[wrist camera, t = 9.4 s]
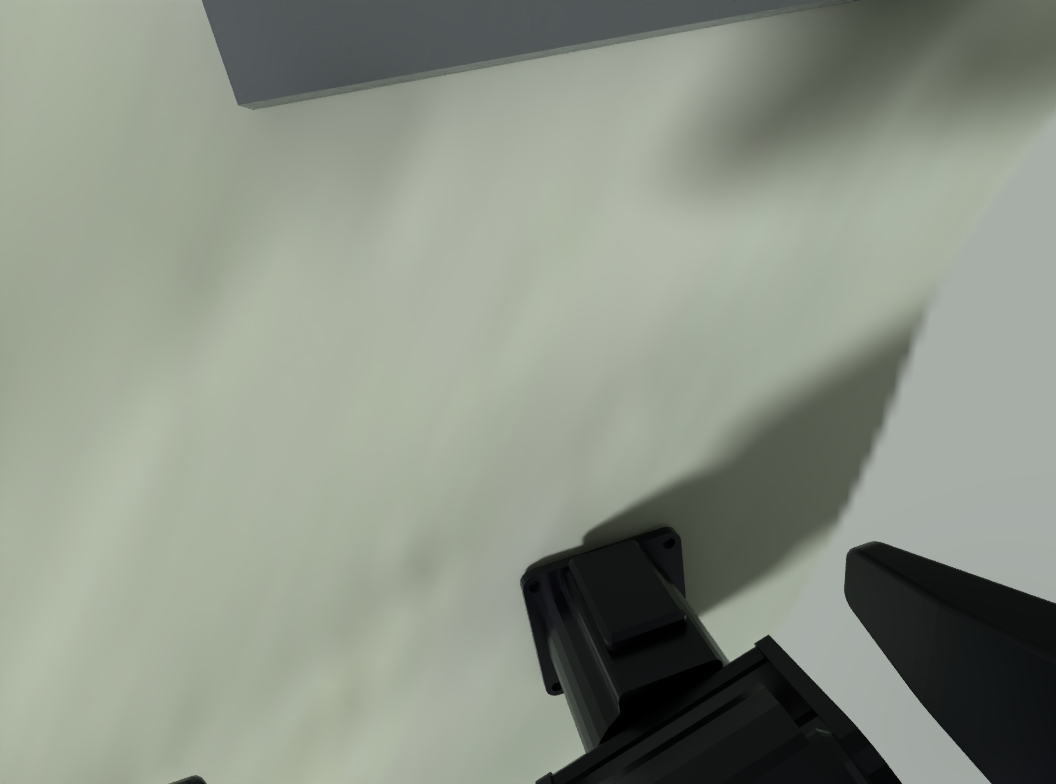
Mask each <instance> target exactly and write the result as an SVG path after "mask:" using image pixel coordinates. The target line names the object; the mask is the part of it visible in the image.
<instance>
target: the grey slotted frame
mask: <svg viewBox="0 0 1056 784" xmlns="http://www.w3.org/2000/svg"><path fill="white" fill-rule="evenodd" d="M852 1H857V0H202V2H203V5H204V8H205V11H206V14H207V17H208V20H209V22H210V25H211V28H212V31H213V34H214V37H215V40H216V43H217V46H218V48H219V51H220V54H221V57H222V60H223V63H224V66H225V69H226V71H227V74H228V77H229V80H230V83H231V86H232V89H233V92H234V95H235V97H236V100H237V103H238V105H239V106H242V107H246V108H249V109H253V110H254V109H260V108H265V107H271V106H276V105H282V104H287V103H293V102H299V101H304V100H310V99H315V98H321V97H326V96H332V95H337V94H343V93H348V92H354V91H359V90H365V89H370V88H376V87H381V86H387V85H393V84H398V83H404V82H409V81H415V80H420V79H426V78H431V77H437V76H442V75H448V74H453V73H459V72H464V71H470V70H475V69H481V68H487V67H492V66H498V65H503V64H509V63H514V62H520V61H525V60H531V59H536V58H542V57H547V56H553V55H558V54H564V53H569V52H575V51H581V50H586V49H592V48H597V47H603V46H608V45H614V44H619V43H625V42H630V41H636V40H641V39H647V38H652V37H658V36H663V35H669V34H675V33H680V32H686V31H691V30H697V29H702V28H708V27H713V26H719V25H724V24H730V23H735V22H741V21H746V20H752V19H758V18H763V17H769V16H774V15H780V14H785V13H791V12H796V11H802V10H807V9H813V8H818V7H824V6H829V5H835V4H840V3H846V2H852Z"/></svg>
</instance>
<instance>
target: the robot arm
mask: <svg viewBox="0 0 1056 784" xmlns="http://www.w3.org/2000/svg"><path fill="white" fill-rule="evenodd" d="M668 538H670V539H669V540H668V541H667V542H665V540H667V539H668ZM664 542H665V543H664ZM533 582H538V583H537V584H535V585H532V586H530V585H531V584H532V583H533ZM520 585H521V589H522V594H523V598H524V602H525V606H526V610H527V615H528V619H529V623H530V627H531V632H532V636H533V640H534V644H535V648H536V653H537V657H538V661H539V665H540V669H541V674H542V678H543V682H544V685H545V688H546V691H547V693H548V694H550V695H554V696H556V695H560V694H563V693H564V694H565V697H566V700H567V703H568V705H569V708H570V711H571V714H572V716H573V719H574V722H575V724H576V727H577V730H578V733H579V735H580V738H581V741H582V744H583V746H584V749H585V752H586V754H584V755H583V756H581V757H579V758H578V759H576V760H575V761H573V762H571V763H570V764H568V765H567V766H565V767H564V768H562V769H560V770H559V771H557V772H556V773H554V774H552V773H551V772H550V773H548V774H547V775H545V776H543V777H542V778H540V779H539V780H537V781H536V784H902V783H901V782H900V780H899V779H898V778H897V776H896V775H895V774H894V772H893V771H892V770H891V768H890V767H889V766H888V764H887V763H886V762H885V760H884V759H883V758H882V757H881V755H880V754H879V753H878V752H877V750H876V749H875V748H874V747H873V745H872V744H871V743H870V742H869V740H868V739H867V738H866V737H865V736H864V735H863V734H862V732H861V731H860V730H859V729H858V727H856V725H855V724H854V723H853V722H852V721H851V720H850V719H849V718H848V717H847V715H846V714H845V713H844V712H843V711H842V710H841V709H840V708H839V707H838V706H837V705H836V704H835V703H834V702H833V701H832V700H831V699H830V698H829V697H828V696H827V695H826V694H825V693H824V692H823V691H822V689H821V688H820V687H819V686H818V685H817V684H816V683H815V682H814V681H813V680H812V679H811V678H810V677H809V676H808V675H807V674H806V673H805V672H804V671H803V670H802V669H801V668H800V667H799V666H798V665H797V663H796V662H795V661H794V660H793V659H792V658H791V657H790V656H789V655H788V654H787V653H786V652H785V651H784V650H783V649H782V648H781V647H780V646H779V645H778V644H777V643H776V642H775V641H774V640H773V639H772V638H771V637H770V636H769V635H767V636H766V637H764V638H762V639H761V640H759V641H758V642H756V643H754V644H755V647H754V648H752V649H751V650H749V651H748V652H746V653H744V654H743V655H741V656H740V657H738V658H737V659H735V660H733V661H732V662H729V660H728V659H727V657H726V656H725V655H724V653H723V652H722V650H721V649H720V647H719V646H718V645H717V643H716V642H715V640H714V639H713V638H712V636H711V635H710V633H709V632H708V631H707V629H706V628H705V626H704V625H703V623H702V622H701V621H700V619H699V618H698V616H697V615H696V614H695V612H694V611H693V609H692V608H691V606H690V605H689V604H688V602H687V601H686V596H685V584H684V572H683V560H682V548H681V539H680V536H679V535H678V534H677V532H676V531H675V530H674V529H673V528H671V527H664V528H660V529H657V530H654V531H651V532H648V533H645V534H642V535H639V536H636V537H632V538H629V539H626V540H623V541H620V542H617V543H614V544H611V545H608V546H604V547H601V548H598V549H595V550H592V551H589V552H586V553H583V554H580V555H576V556H573V557H570V558H567V559H564V560H561V561H558V562H555V563H552V564H548V565H545V566H542V567H539V568H536V569H533V570H530V571H528V572H526V573H525V574H524V575H523V576H522V578H521V580H520ZM844 593H845V597H846V600H847V602H848V604H849V606H850V608H851V609H852V611H853V612H854V613H855V615H856V616H857V617H858V619H859V620H860V622H861V623H862V624H863V626H864V627H865V628H866V630H867V631H868V632H869V634H870V635H871V636H872V638H873V639H874V640H875V642H876V643H877V645H878V646H879V647H880V649H881V650H882V651H883V653H884V654H885V655H886V657H887V658H888V660H889V661H890V662H891V664H892V665H893V666H894V668H895V669H896V670H897V672H898V673H899V674H900V676H901V677H902V679H903V680H904V681H905V683H906V684H907V685H908V687H909V688H910V689H911V691H912V692H913V693H914V694H915V696H916V697H917V698H918V700H919V701H920V702H921V703H922V705H923V706H924V707H925V708H926V709H927V711H928V712H929V713H930V714H931V715H932V717H933V718H934V719H935V720H936V721H937V722H938V724H939V725H940V726H941V727H942V728H943V729H944V730H945V731H946V732H947V734H948V735H949V736H950V737H951V738H952V739H953V741H955V743H956V744H957V745H958V746H959V747H960V748H961V750H962V751H963V752H964V753H965V754H966V755H967V756H968V757H969V759H970V760H971V761H972V762H973V763H974V764H975V765H976V767H977V768H978V769H979V770H980V771H981V772H982V773H983V774H984V776H985V777H986V778H987V779H988V780H989V781H990V783H991V784H1056V603H1053V602H1050V601H1047V600H1045V599H1042V598H1039V597H1036V596H1033V595H1030V594H1027V593H1024V592H1022V591H1019V590H1016V589H1013V588H1010V587H1007V586H1005V585H1002V584H999V583H996V582H993V581H990V580H988V579H985V578H982V577H979V576H976V575H973V574H970V573H967V572H965V571H962V570H959V569H956V568H953V567H950V566H948V565H945V564H942V563H939V562H936V561H933V560H930V559H927V558H924V557H922V556H919V555H916V554H913V553H910V552H908V551H904V550H902V549H899V548H896V547H893V546H890V545H888V544H885V543H881V542H876V541H873V542H869V543H866V544H863V545H860V546H857V547H854V548H852V549H850V550H849V552H848V553H847V557H846V571H845V584H844ZM556 682H557V683H556ZM170 784H206V782H205V781H204V779H203V778H202V777H199V776H197V775H195V776H190V777H187V778H184V779H181V780H179V781H176V782H173V783H170Z"/></svg>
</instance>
